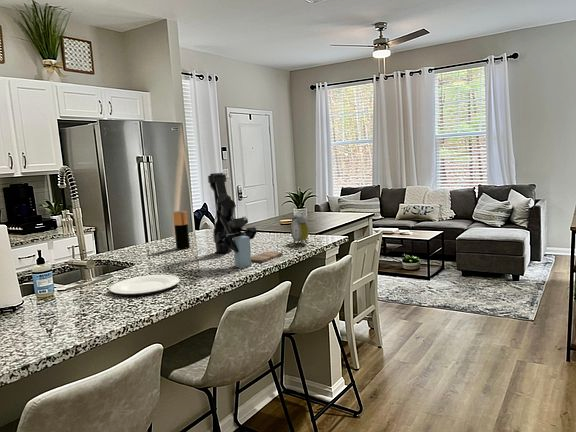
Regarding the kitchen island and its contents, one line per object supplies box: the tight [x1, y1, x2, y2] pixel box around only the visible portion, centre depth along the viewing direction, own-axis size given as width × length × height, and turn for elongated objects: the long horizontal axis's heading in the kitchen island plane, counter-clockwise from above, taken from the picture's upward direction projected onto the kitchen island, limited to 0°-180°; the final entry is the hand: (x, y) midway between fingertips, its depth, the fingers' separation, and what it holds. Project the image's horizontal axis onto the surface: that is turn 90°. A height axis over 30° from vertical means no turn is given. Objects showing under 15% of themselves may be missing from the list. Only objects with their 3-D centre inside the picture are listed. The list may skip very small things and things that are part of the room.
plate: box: [108, 274, 181, 296], centre depth 168 cm, size 25×25×2 cm
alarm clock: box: [289, 213, 310, 246], centre depth 237 cm, size 12×7×15 cm, turn 25°
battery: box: [172, 210, 191, 250], centre depth 241 cm, size 7×7×20 cm
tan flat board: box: [251, 251, 283, 264], centre depth 206 cm, size 16×9×1 cm, turn 147°
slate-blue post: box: [233, 236, 252, 269], centre depth 193 cm, size 5×5×12 cm
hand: (243, 251), depth 192 cm, fingers open, 6 cm apart
